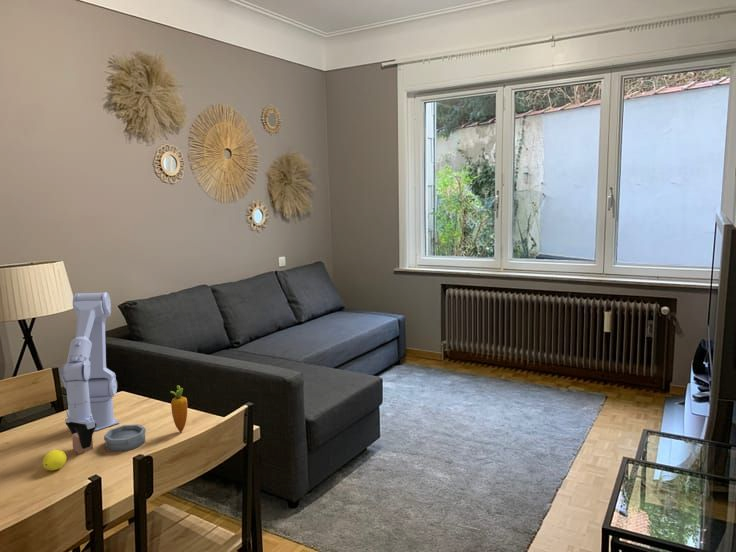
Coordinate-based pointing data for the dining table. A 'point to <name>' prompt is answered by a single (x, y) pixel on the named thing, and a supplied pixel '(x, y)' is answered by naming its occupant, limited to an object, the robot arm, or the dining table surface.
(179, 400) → the carrot
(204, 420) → the dining table surface
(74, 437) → the block
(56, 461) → the lemon
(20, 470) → the dining table surface
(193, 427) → the dining table surface
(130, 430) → the grey ashtray
